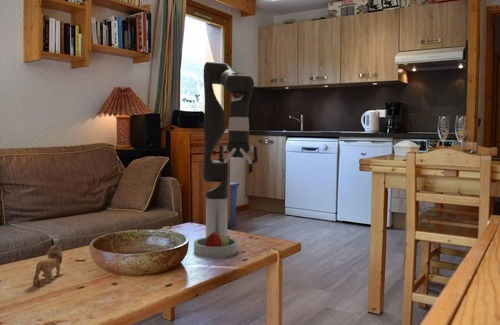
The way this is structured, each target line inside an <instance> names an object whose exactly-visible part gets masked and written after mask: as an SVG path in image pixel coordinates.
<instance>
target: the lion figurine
mask: <svg viewBox="0 0 500 325" xmlns="http://www.w3.org/2000/svg"><path fill="white" fill-rule="evenodd" d="M46 256H47V257H48V258H47V259H44V260H40V261H39V262H37V264H36V267H35V272H34V277H33V280H32V281H33V282H32V283H33V286H37V287H39V286H41V283H40V273H41V272H42V273H43V275H44V280H45V281H46V283H48V284H50V283H52V282H53V281H52V279H49V277H50V278H51V277H52V275H53V273H52V271H53V270H54V269H55V268H56V272H55V273H56V275H55V276H56V277H61V276H62V274H60V271H61V263H62V262H63V253H62V249H61V247H59V245H51V247H49V248H48V251H47V252H46Z"/></svg>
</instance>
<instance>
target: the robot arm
mask: <svg viewBox="0 0 500 325" xmlns="http://www.w3.org/2000/svg"><path fill="white" fill-rule="evenodd" d="M214 85H222V86H223V87H224V88H225V91H226V93H228V94H231V95H242V96H241V98H240V99H239V100H232V101H231V102H229V112H228V113H229V119H228V126H227V127H228V134H227V136H228V137H227V138H228V139H227V141H228V142H227V143H228V144H227V145H219V151H218V160H212V155H213V152H214V150H215V148H216V147H217V145H218V143H219V142H220V141H221V139H222V137H223V135H224V134H225V132H226V124H227V123H226V122H227V119H226V118H227V117H226V112H225V110H224V108H223V106H222V105H221V103H220V102H219V100H218V99H217V96H216V94H215V90H214V88H213V86H214ZM254 87H255V82H254V79H253V77H252V76H251V75H247V74H240V73H238V72H235V71H234V70H233V69H232V67H231V66H230V65H229V64H228V63H226V62H217V61H206V62H205V63H204V66H203V90H204V91H203V92H204V110H203V112H204V114H203V115H204V116H203V132H204V133H203V134H204V135H203V137H204V141H203V142H204V145H203V146H204V150H203V162H202V163H203V165H202V178H203V180H204V182H206V183H220V184H219V185H217V186H216V187H214V188H211V189H209V190H206V193H205V237H208V236H209V235H210V234H212V232H213V231H215V232H216V234H217V235H218V236H219V237H220V236H225V237H226V238H228V209H229V208H228V205H229V204H228V198H229V196H228V194H229V192H228V191H229V190H228V187H229V170H230V169H229V163H228V162H229V161H230V160H231V159H232V157H233V158H245V159H246V161H247V162H248V171H247V172H248V175H251V174H252V173H253V170H254V168H253V167H254V163H255V164H256V163H257V162H258V161H259V160H258V159H259V156H258V154H259V153H258V146H257V145H254V146H250V143H249V142H250V122H249V108H250V102H251V98H252V93H253V91H254ZM226 150H227V151H228V154H227V156H226V157H225V158H224V152H226ZM249 151H251V152H252V153H253V159H252V158H251V156H250V155H249V154H248V153H249Z"/></svg>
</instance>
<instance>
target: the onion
mask: <svg viewBox="0 0 500 325" xmlns="http://www.w3.org/2000/svg"><path fill="white" fill-rule="evenodd" d="M206 237H207V236H206ZM206 246H209V247H221V239H220V237H219V236H218V235H217V234H216V232H215V231H213V232H212V234H210V235H209V236H208V237H207V239H206Z"/></svg>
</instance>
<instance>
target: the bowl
mask: <svg viewBox="0 0 500 325" xmlns="http://www.w3.org/2000/svg"><path fill="white" fill-rule="evenodd" d="M227 238H228V240H229V245H228V246H221V247H209V246H206V239H207V236H205V237H200V238H197V239H195V241H194V242H193V252H194V254H196V255H198V256H201V257H206V258H225V257H226V258H227V257H230V256H234V255H236V254H237V253H238V250H239V249H238V248H239V247H238V246H239V244H238V242H239V241H238V240H236V239H235V238H232V237H227Z"/></svg>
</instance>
